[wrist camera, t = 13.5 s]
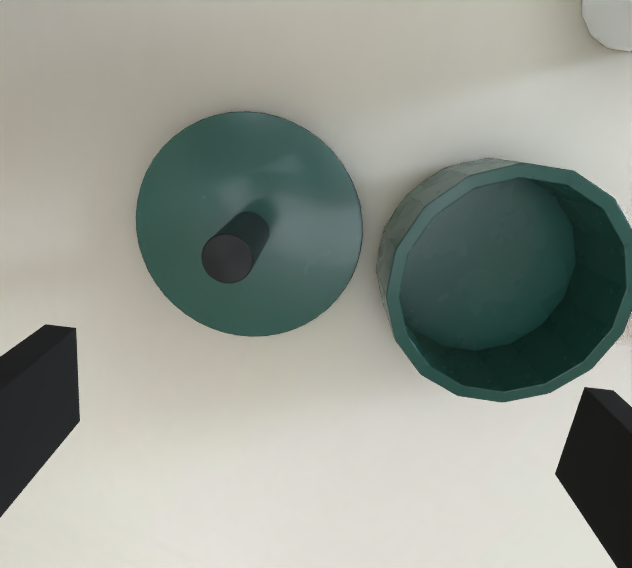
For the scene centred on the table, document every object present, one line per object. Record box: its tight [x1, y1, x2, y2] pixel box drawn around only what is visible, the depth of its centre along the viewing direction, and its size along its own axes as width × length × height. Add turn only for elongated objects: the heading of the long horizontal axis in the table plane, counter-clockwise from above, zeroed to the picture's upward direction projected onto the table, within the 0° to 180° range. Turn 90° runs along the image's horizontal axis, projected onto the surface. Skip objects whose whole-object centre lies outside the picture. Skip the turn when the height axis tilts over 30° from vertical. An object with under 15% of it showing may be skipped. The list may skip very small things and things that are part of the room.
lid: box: [136, 111, 363, 336], centre depth 30 cm, size 16×16×9 cm
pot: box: [376, 158, 632, 402], centre depth 31 cm, size 15×15×6 cm
